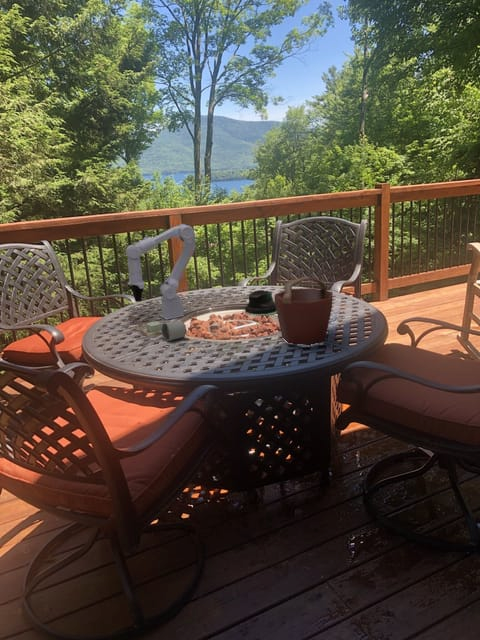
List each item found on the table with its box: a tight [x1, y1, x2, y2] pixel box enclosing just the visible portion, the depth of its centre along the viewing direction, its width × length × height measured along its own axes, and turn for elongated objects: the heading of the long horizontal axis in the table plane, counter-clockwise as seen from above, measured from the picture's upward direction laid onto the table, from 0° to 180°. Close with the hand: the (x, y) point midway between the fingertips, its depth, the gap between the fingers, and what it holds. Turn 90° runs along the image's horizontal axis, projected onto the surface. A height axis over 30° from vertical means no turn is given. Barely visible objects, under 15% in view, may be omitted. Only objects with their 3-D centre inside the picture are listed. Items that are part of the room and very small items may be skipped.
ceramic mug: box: [161, 320, 187, 342], centre depth 199 cm, size 11×8×8 cm
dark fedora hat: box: [244, 290, 277, 317], centre depth 234 cm, size 20×20×9 cm
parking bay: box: [137, 327, 162, 338], centre depth 209 cm, size 10×12×1 cm
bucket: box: [274, 276, 333, 345], centre depth 188 cm, size 24×22×25 cm
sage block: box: [145, 321, 163, 333], centre depth 208 cm, size 5×5×4 cm
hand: (138, 301), depth 223 cm, fingers closed
